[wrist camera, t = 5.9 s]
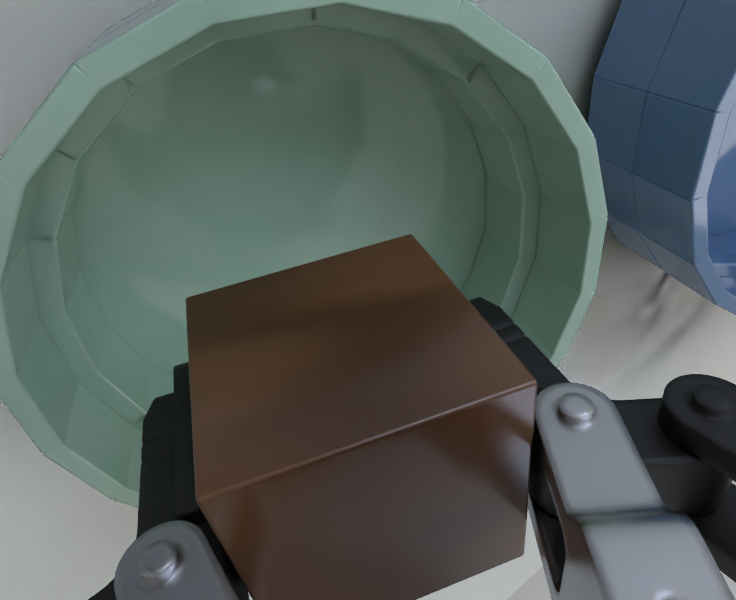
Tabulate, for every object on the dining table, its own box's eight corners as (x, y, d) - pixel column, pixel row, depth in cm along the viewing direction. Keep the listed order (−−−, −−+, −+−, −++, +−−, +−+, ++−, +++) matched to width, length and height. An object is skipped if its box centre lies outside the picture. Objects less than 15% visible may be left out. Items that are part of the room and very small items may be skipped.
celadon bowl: (63, 421, 17) (28, 563, 13) (-12, -105, 10) (-133, -143, 6) (443, 395, 22) (502, 494, 18) (567, 26, 15) (708, 52, 11)
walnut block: (249, 450, 13) (283, 656, 9) (183, 296, 10) (193, 501, 6) (427, 390, 13) (524, 556, 10) (411, 231, 11) (540, 380, 7)
